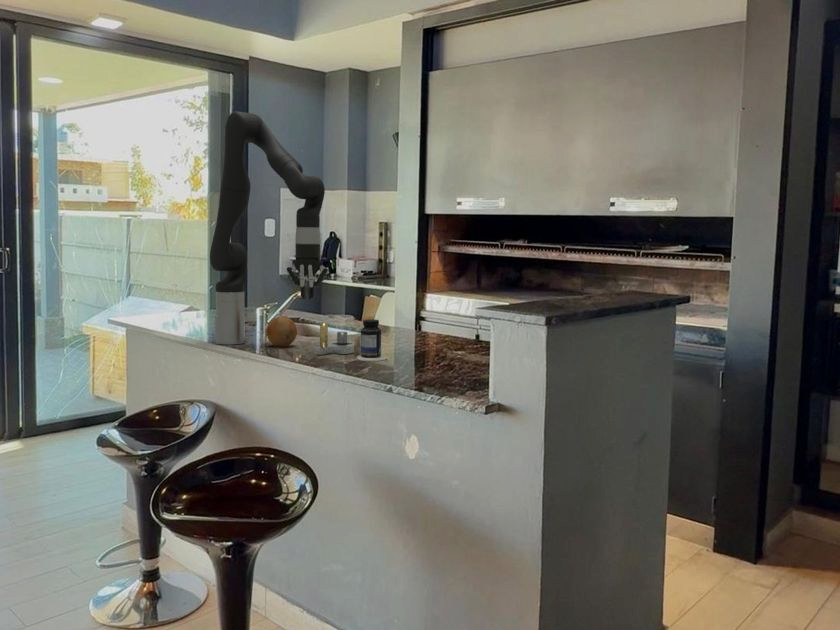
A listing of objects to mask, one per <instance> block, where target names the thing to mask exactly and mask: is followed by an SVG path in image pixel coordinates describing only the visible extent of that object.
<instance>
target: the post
mask: <svg viewBox="0 0 840 630" xmlns="http://www.w3.org/2000/svg"><path fill="white" fill-rule="evenodd" d="M336 338H337V339H336V340H337V345H347V341H348V332H347V331H336Z"/></svg>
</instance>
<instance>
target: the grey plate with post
mask: <svg viewBox="0 0 840 630" xmlns="http://www.w3.org/2000/svg"><path fill="white" fill-rule="evenodd" d="M328 334H329V324H328V322H320V323H319V343H315V344H314V347H313V355H318V356H319V355H320V356H321V355H327V354H332V353H333V354H338V355H339V354H340V355H347V354H348V355H349V354H354V340H353V341H351V340H347V345H337V339H336V340H332V341H329V339H328V338H329V337H328V336H329V335H328ZM360 352H361V341H360Z"/></svg>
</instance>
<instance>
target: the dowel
mask: <svg viewBox="0 0 840 630" xmlns="http://www.w3.org/2000/svg"><path fill="white" fill-rule="evenodd" d="M353 337H354V338H353V342H354V353H353V356H354V357H357V356H359V355H361V351H360V342H361V335H354V336H353Z"/></svg>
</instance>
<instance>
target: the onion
mask: <svg viewBox="0 0 840 630" xmlns="http://www.w3.org/2000/svg"><path fill="white" fill-rule="evenodd" d="M297 328H298V327H297V325H296V323H295V322H294V321H293V320H292V319H291V318H290V317H288V316H286V315H281V316H277V317H274V318H273V319H271V320H270V322H269V323H268V325H267V327H266V334H267V335H266V336H267V339H268V341H269V342H270V343H271V344H272V346H275V347H277V346H279V347H278V348H281V347H282V348H283V347H287V346H290V345H291V344H293V342H295V340H296V338H297V335H298V329H297Z"/></svg>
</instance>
